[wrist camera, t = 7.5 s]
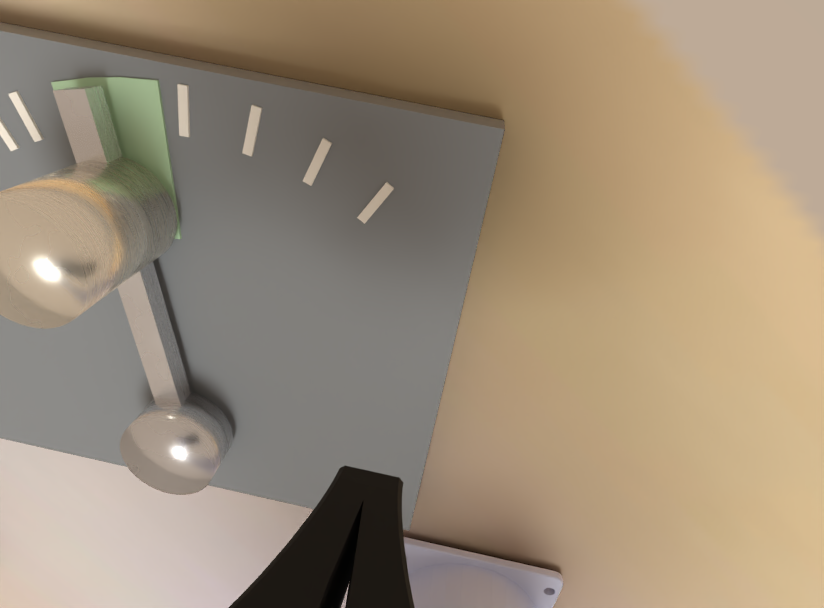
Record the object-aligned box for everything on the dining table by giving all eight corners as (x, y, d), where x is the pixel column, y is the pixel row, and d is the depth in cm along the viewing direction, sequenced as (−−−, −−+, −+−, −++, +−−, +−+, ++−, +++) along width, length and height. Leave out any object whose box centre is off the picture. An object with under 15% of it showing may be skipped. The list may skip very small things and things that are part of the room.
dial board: (413, 503, 25) (408, 532, 24) (14, 414, 26) (-13, 437, 25) (503, 120, 17) (504, 130, 16) (-79, 6, 18) (-127, 6, 17)
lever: (240, 463, 23) (186, 560, 19) (159, 459, 24) (89, 552, 19) (143, 83, 16) (26, 108, 12) (31, 88, 17) (-115, 114, 13)
